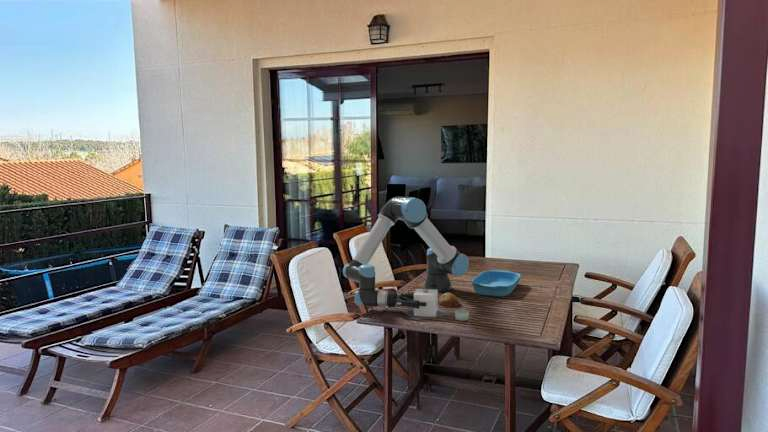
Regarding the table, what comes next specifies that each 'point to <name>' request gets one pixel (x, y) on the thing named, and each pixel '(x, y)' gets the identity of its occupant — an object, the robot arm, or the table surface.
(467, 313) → the bowl
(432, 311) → the box cover
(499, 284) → the casserole dish
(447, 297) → the bread roll
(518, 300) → the table surface
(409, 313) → the rubber mat
